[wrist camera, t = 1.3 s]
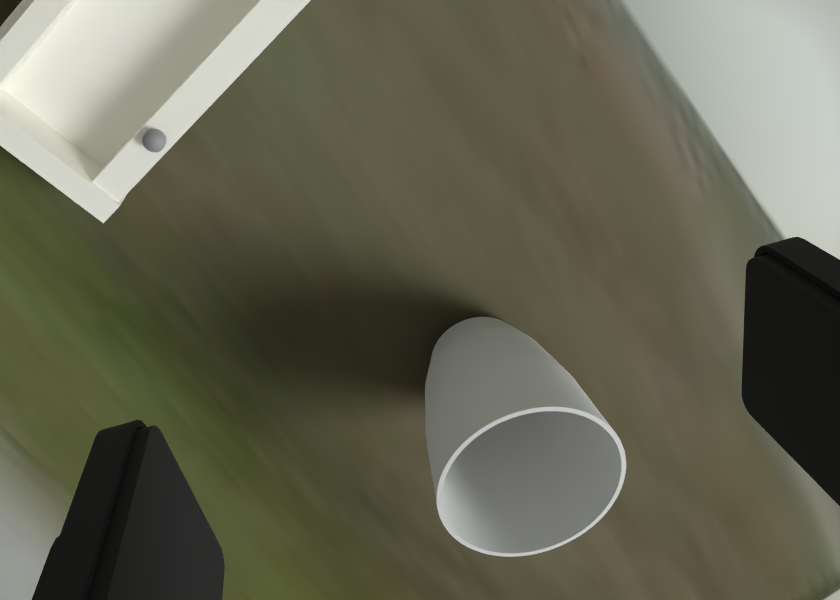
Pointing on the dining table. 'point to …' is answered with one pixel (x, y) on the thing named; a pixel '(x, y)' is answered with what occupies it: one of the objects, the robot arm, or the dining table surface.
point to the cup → (514, 443)
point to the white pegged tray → (119, 83)
